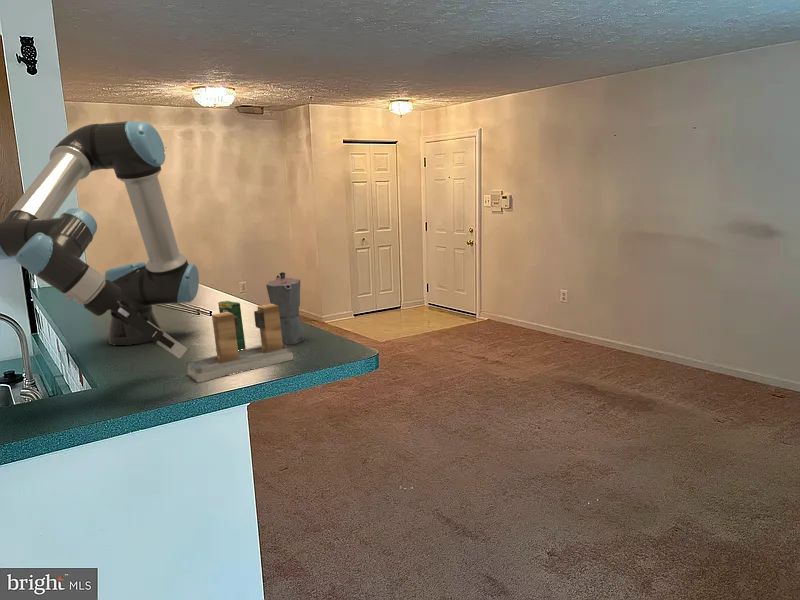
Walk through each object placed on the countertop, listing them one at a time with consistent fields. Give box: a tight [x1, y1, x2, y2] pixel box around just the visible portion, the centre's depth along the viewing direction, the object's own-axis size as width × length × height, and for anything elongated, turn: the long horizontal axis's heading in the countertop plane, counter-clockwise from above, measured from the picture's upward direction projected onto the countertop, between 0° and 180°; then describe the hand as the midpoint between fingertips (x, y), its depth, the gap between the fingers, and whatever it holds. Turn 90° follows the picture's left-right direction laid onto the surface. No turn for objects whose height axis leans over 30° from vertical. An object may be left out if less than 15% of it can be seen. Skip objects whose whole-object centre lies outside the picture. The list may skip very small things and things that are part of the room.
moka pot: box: [265, 271, 306, 346], centre depth 164 cm, size 10×15×20 cm, turn 27°
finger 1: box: [211, 312, 240, 363], centre depth 142 cm, size 4×5×12 cm
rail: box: [185, 344, 294, 383], centre depth 144 cm, size 8×24×3 cm, turn 125°
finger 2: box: [253, 303, 283, 352], centre depth 147 cm, size 4×5×12 cm
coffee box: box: [217, 300, 247, 350], centre depth 161 cm, size 8×3×13 cm, turn 43°
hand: (174, 347), depth 135 cm, fingers open, 13 cm apart
